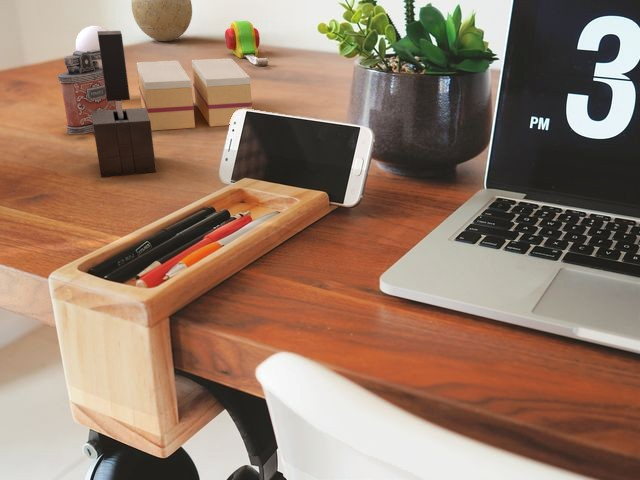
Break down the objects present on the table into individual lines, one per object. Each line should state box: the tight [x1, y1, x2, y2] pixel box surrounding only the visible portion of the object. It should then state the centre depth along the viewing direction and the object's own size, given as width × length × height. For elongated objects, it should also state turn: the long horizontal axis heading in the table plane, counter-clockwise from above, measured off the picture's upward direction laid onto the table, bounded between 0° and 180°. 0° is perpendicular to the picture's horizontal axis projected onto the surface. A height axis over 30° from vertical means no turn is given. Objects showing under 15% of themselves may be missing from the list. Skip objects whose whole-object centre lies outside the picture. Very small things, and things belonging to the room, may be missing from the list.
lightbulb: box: [75, 25, 110, 66], centre depth 109 cm, size 6×6×11 cm
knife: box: [97, 30, 131, 121], centre depth 81 cm, size 2×3×15 cm
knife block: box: [92, 107, 157, 178], centre depth 83 cm, size 6×6×6 cm
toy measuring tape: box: [224, 20, 269, 67], centre depth 144 cm, size 6×19×7 cm, turn 24°
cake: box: [136, 57, 253, 132], centre depth 104 cm, size 14×14×6 cm
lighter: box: [57, 49, 117, 135], centre depth 96 cm, size 8×3×10 cm, turn 151°
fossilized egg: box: [131, 0, 193, 42], centre depth 157 cm, size 13×13×15 cm
